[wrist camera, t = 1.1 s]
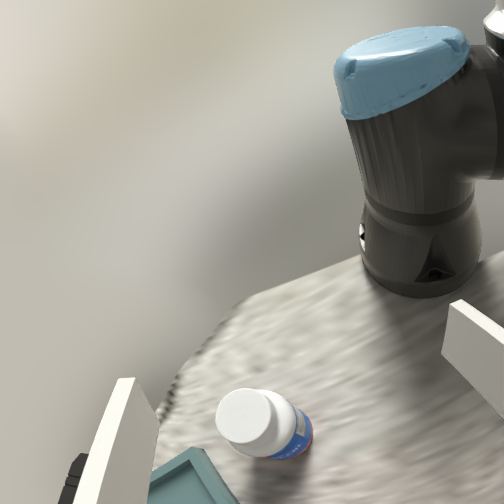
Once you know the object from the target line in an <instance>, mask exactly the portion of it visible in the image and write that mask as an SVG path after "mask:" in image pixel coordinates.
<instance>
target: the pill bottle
mask: <svg viewBox="0 0 504 504" xmlns="http://www.w3.org/2000/svg"><path fill="white" fill-rule="evenodd" d="M215 422H216V426H217V429H218V431H219V433H220V434H221V435H222V436H223V437H224V438H225V439H227V440H228V441H229V442H230V444H231V445H232V446H233V447H234V448H235V449H236V450H238V451H239V452H241V453H243V454H246V455H249V456H254V457H261V458H269V459H277V460H287V459H291V458H294V457H297V456H298V455H300V454H301V453H303V452H304V451H305V450H306V449H307V447H308V446H309V444H310V442H311V439H312V434H313V429H312V424H311V421H310V419H309V418H308V416H307V415H306V414H305V413H304V412H303V411H301V410H300V409H299V408H297V407H296V406H295V405H293V404H292V403H291V402H289V401H288V400H287V399H285V398H284V397H282V396H281V395H279V394H277V393H275V392H272V391H269V390H254V389H249V388H242V389H237V390H235V391H232V392H230V393H229V394H227V395H226V396H225V397H224V398H223V399H222V400H221V402H220V403H219V405H218V407H217V410H216V415H215Z"/></svg>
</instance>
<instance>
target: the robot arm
mask: <svg viewBox="0 0 504 504" xmlns="http://www.w3.org/2000/svg"><path fill="white" fill-rule="evenodd" d="M495 1H496V6H495V8H494V9H493V10H492V11H491V13H490V14H489V15H488V16H487V17H486V18H485V19H484V20H483V23H484V29H485V35H486V41H487V42H486V45H470V43H469V41H468V40H467V39H466V37H465V35H464V34H463V33H462V32H461V31H460V30H458V29H455V28H452V27H447V26H429V27H423V26H421V27H412V28H405V29H400V30H395V31H391V32H387V33H384V34H380V35H377V36H374V37H372V38H368V39H366V40H364V41H361V42H359V43H357V44H355V45H353V46H351V47H350V48H348V49H347V50H345V51H344V52H343V53H342V54H341V55H340V56H339V58H338V59H337V60H336V63H335V65H334V79H335V82H336V86H337V90H338V93H339V98H340V101H341V113H342V115H343V116H344V118H346V122H347V125H348V129H349V132H350V136H351V139H352V143H353V146H354V150H355V154H356V158H357V162H358V166H359V170H360V174H361V178H362V182H363V185H364V190H365V196H366V198H365V203H364V208H363V214H362V218H361V223H360V228H359V245H360V249H361V254H362V259H363V262H364V264H365V266H366V268H367V270H368V272H369V273H370V274H371V276H372V277H373V278H374V279H375V280H376V281H377V282H378V283H380V284H381V285H382V286H384V287H385V288H387V289H389V290H391V291H393V292H395V293H398V294H401V295H404V296H408V297H415V298H430V297H436V296H441V295H444V294H447V293H449V292H451V291H453V290H455V289H457V288H458V287H460V286H461V285H462V284H463V283H465V282H466V281H467V280H468V279H469V277H470V276H471V275H472V273H473V272H474V270H475V268H476V265H477V263H478V259H479V255H480V251H481V246H482V232H481V227H480V221H479V217H478V212H477V208H476V204H475V200H474V190H475V189H474V188H475V181H476V180H480V179H481V180H482V179H484V180H486V179H487V180H504V0H495ZM441 354H442V355H443V356H444V357H445V358H446V359H447V360H448V361H449V362H450V363H451V364H452V365H453V366H454V367H455V368H456V369H457V370H458V371H459V373H460V374H461V375H462V376H463V377H464V378H465V379H466V380H467V381H468V382H469V383H470V384H471V385H472V386H473V387H474V388H475V389H476V390H477V391H478V392H479V393H480V394H481V395H482V396H483V398H484V399H485V400H486V401H487V402H488V403H489V404H490V405H491V406H492V407H493V408H494V409H495V411H496V412H497V413H498V414H499V415H500V416H501V417H502V418H503V419H504V329H503V328H502V327H501V326H499V325H498V324H497V323H495V322H494V321H492V320H491V319H489V318H488V317H487V316H485V315H484V314H482V313H481V312H479V311H478V310H477V309H475V308H474V307H472V306H471V305H469V304H468V303H466V302H465V301H463V300H462V299H461V300H458V301H456V302H453V303H451V304H450V305H449V312H448V319H447V325H446V331H445V337H444V342H443V347H442V352H441ZM159 427H160V422H159V420H158V418H157V417H156V415H155V413H154V411H153V410H152V408H151V407H150V404H149V402H148V401H147V399H146V397H145V395H144V393H143V391H142V389H141V387H140V386H139V384H138V382H137V380H136V378H121V379H118V381H117V384H116V386H115V389H114V391H113V393H112V396H111V398H110V401H109V403H108V406H107V408H106V411H105V413H104V416H103V418H102V421H101V423H100V426H99V429H98V431H97V434H96V436H95V439H94V442H93V445H92V447H91V451H90V453H89V454H84V453H81V454H79V456H78V457H77V458H76V459H75V461H73V463H72V465H71V467H70V470H69V473H68V477H67V478H66V481H65V486H64V487H63V490H62V493H61V496H60V499H59V502H58V504H147V498H148V491H149V485H150V478H151V472H152V466H153V460H154V454H155V449H156V443H157V438H158V432H159Z"/></svg>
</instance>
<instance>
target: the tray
mask: <svg viewBox="0 0 504 504" xmlns="http://www.w3.org/2000/svg"><path fill="white" fill-rule="evenodd" d="M147 504H240V503H239V502H238V501H237V499H236V498H235V496H234V495H233V494H232V492H231V491H230V489H229V488H228V486H227V485H226V483H225V482H224V481H223V479H222V478H221V476H220V475H219V473H218V471H217V470H216V468H215V467H214V465H213V464H212V462H211V461H210V459H209V457H208V456H207V454H206V452H205V451H204V449H201V448H196V447H190V448H189V449H187V450H186V451H184V452H183V453H181V454H180V455H178V456H177V457H175V458H174V459H172V460H170V461H169V462H167V463H166V464H164V465H163V466H161V467H159V468H158V469H156V470H154V471H153V472H151V478H150V485H149V491H148V498H147Z"/></svg>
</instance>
